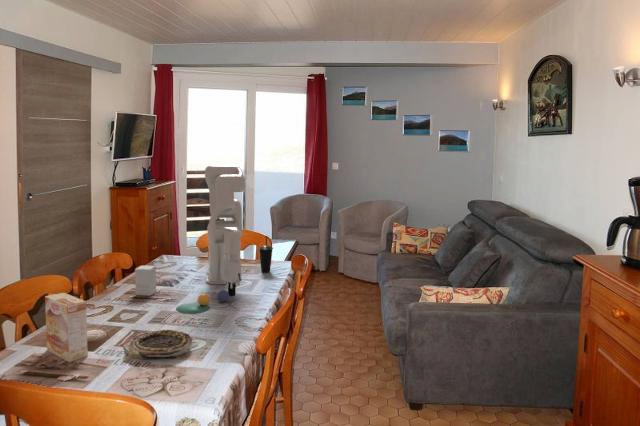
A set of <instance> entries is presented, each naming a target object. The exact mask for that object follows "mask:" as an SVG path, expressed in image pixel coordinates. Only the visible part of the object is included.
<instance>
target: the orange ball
mask: <svg viewBox="0 0 640 426" xmlns="http://www.w3.org/2000/svg"><path fill="white" fill-rule="evenodd" d="M210 302H211V297H210V295H209V294H207V293H201V294H199V295H198V296H197V303H199V304H200V305H201V306H206V305H208V306H209V305H210Z"/></svg>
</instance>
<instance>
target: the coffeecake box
mask: <svg viewBox="0 0 640 426" xmlns="http://www.w3.org/2000/svg"><path fill="white" fill-rule="evenodd" d="M44 303H45V304H44V305H45V306H44V307H45V327H46V328H45V330H46V351H47V352H49V353H51V354H53V355H55V356H56V357H59V358H60V359H62V360H64V361H66V362H68V363H71V362H73V361H77V360H80V359H84V358H86V357H88V356H89V355H88V324H87V323H88V322H87V300H83V299H81V298H78V297H76V296H74V295H71V294H68V293H67V292H66V293H65V292H60V293H56V294H49V295H45V296H44Z"/></svg>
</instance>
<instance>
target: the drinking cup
mask: <svg viewBox="0 0 640 426" xmlns="http://www.w3.org/2000/svg"><path fill="white" fill-rule="evenodd" d="M258 249H259V258H260V271H261V273H263V274H264V273H265V274H266V273H270V272H271V265H272V256H273V249H274V248H273V247H272V246H271V245H268V236H265V245H261V246H259V248H258Z"/></svg>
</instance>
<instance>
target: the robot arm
mask: <svg viewBox="0 0 640 426" xmlns="http://www.w3.org/2000/svg"><path fill="white" fill-rule="evenodd" d="M204 179H205V182H206V184H207V187H208V191H209V192H208V193H209V196H208V197H209V213H210V217H209V221H208V224H207V228H206V230H207V237H208V251H209V252H208V254H209V255H208V272H206V275H207V276H208V277H207V278H206V279H205V282H206V284H210V285H226V287H227V292H228V293H229V298H231V297H236V290H237V289H236V288H237V287H239V286H240V285H241V282H242V276H243V272H242V264H241V239H242V238H241V237H242V236H243V214H242V213H243V211H242V209H243V207H242V203H241V202H240V200H238V199H236V198H235V193H243V192H244V191H245V189H246V179H245V176H244V174H243V171H242V169H241V167H240V166H239V165H235V164H212V165H207V166H206V167H205V169H204ZM217 219H232V220H217Z"/></svg>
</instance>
